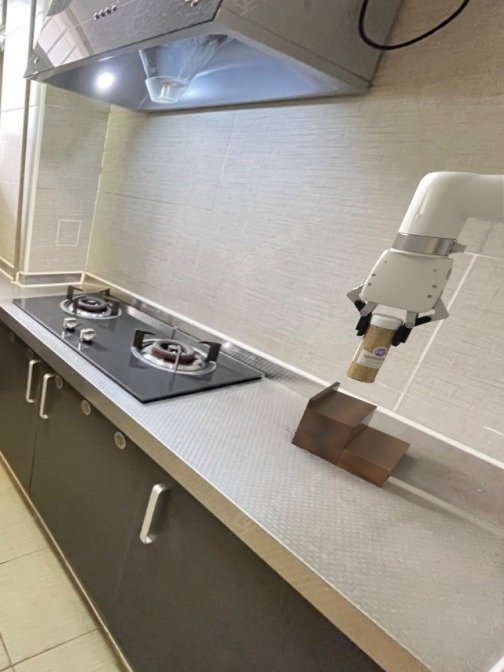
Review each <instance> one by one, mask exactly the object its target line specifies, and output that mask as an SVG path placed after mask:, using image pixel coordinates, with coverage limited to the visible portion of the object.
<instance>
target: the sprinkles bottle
mask: <svg viewBox="0 0 504 672" xmlns="http://www.w3.org/2000/svg"><path fill="white" fill-rule="evenodd" d="M404 323H405V321H404V319H402V318H400V317H398V316H394V315H390V314H385V313H372V317H371V318H370V321H369V326H368V328H367V330H366V332H365V334H364V335H363V336H361V340H360V342H359V344H358V346H357V349H356V351H355V353H354V355H353V357H352V358H351V359H352V361H351V363H350V365H349V367H348V370H347V371H346V372H345V375H346V376H347V377H349V378H350V379H351V380H355V381H357V382H360V383H364V384H365V383H366V384H373V383H375V381H376V377H377V375H378V374H379V371H380V369H381V368H382V367H383V364H384V363H385V360H386V358H387V356H388V353H389V352H390V349H391V348H392V345H391V344H392V342H393V340H394V338H395V336H396V334H397V332H398V330H399V328H400V326H402V325H403V324H404Z"/></svg>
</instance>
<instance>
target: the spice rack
mask: <svg viewBox="0 0 504 672" xmlns="http://www.w3.org/2000/svg"><path fill="white" fill-rule="evenodd" d="M340 386H341V382H339V381H335V382H334V383H332V384H330V385H329V386H327V387H326V388H324V389H323V390H321V391H319V392H318V393H316V394H315V395H314V396H312V397H310V398H309V399H308V402H307V404H306V407H305V409H304V411H303V414H302V416H301V418H300V421H299V423H298V425H297V427H296V429H295V432H294V434H293V437H292V438H291V439H292V440H291V442H290V443H291V444H293V445H295V446H297V447H299V448H301V449H302V450H305V451H306V452H309V453H311V454H313V455H315V456H317V457H319V458H321V459H323V460H324V461H327V462H329V463H331V464H333V465H335V466H336V467H339V468H340V469H342V470H345V471H346V472H349V473H351V474H352V475H354V476H356V477H359V478H360V479H362V480H365V481H366V482H368V483H371V484H372V485H375V486H377V487H378V488H380V489H381V488H382V487H383V485H385V483H386V482H387V481H388V479H389V478H390V477H391V474H392V472H393V471H394V470H395V468H396V467H397V466H398V464H399V463H400V462H401V461H402V459H403V458H404V457H405V455H407V453H408V450H409V448H410V447H411V444H412V443H410V442H408V441H406V440H403V439H400V438H398V437H396V436H394V435H391V434H389V433H387V432H384V431H381V430H379V429H376V428H374V427H372V426H370V423H371V420H372V419H373V417H374V415H375V412H376V411H377V409H378V405H375V404H372V403H370V402H368V401H365V400H362V399H360V398H357V397H354V396H352V395H349V394H347V393H344V392H341V391H339V388H340Z"/></svg>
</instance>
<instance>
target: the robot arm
mask: <svg viewBox="0 0 504 672" xmlns="http://www.w3.org/2000/svg"><path fill="white" fill-rule="evenodd" d="M469 218H472V219H473V220H477V221H478V222H479V221H480V222H486V223H495V224H501V225H504V174H480V173H476V172H467V171H434V172H429V173H427V174H426V175H425V176H424V177H422V179H421V180H420V182H419V183H418V186H417V188H416V190H415V193H414V195H413V197H412V199H411V202H410V204H409V206H408V209H407V211H406V213H405V216H404V218H403V220H402V222H401V225H400V227H399V229H398V231H397V234H396V236H395V238H394V240H393V243H392V245H391V247H390V249H389V248H388V249H385V250H383V252H382V254H381V255H380V257H379V258H378V259H377V261H376V263H375V264H374V266H373V267H372V270H370V273H369V275H368V277H367V278H366V281H365V282H363V283H362V284H361V285H359V286H357V287H355V288H353V289H352V290H350V291H348V292H347V293H346V295H345V296H346V297H347V298H348V300H350V301H351V302H352V303H353V305H354V307H355V308H356V309H357V311H358V313H359V315H360V317H359V319H358V322H357V324H356V326H355V331H357V332H356V336H357V337H363V336H364V334H365V332H366V330H367V328H368V326H369V321H370V318H371V317H372V315H373V312H374V311H375V310H376V309H377V308H378V306H379V305H381V306H386V307H391V308H395V309H399V310H403V311H406V313H405V314H406V315H405V321H404V323H403V325H402V326H400V328H399V330H398V332H397V334H396V336H395V338H394V340H393V342H392V344H391V347H394V348H396V347H398V346H400V345H401V344H405V343H406V342H407V341H408V338H409V337H410V334H412V333H411V332H412V331H413V329H414V328H415V327H418V326H422V325H426V324H428V323H432V322H437V321H441V320H446V319H448V318H449V317H450V313H449V310H448V308H447V306H446V305H445V303H444V301H443V299H442V296H443V294H444V291H445V289H446V286H447V284H448V282H449V279H450V276H451V274H452V270H453V267H454V262H455V259H454V258H451V257H449V256H450V255H452V254H457V253H460V254H464V253H465V251H466V249H467V247H468V244H467V245H466V244H462V243H460V242H459V241H458V239H459V237H460V235H461V233H462V231H463V229H464V226H465V224H466V223H467V221H468V219H469ZM365 301H367V303H366V302H365ZM432 310H434V313H431V314H425V313H428V312H430V311H432ZM423 313H424V314H425V315H423V316H420V314H423Z"/></svg>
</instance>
